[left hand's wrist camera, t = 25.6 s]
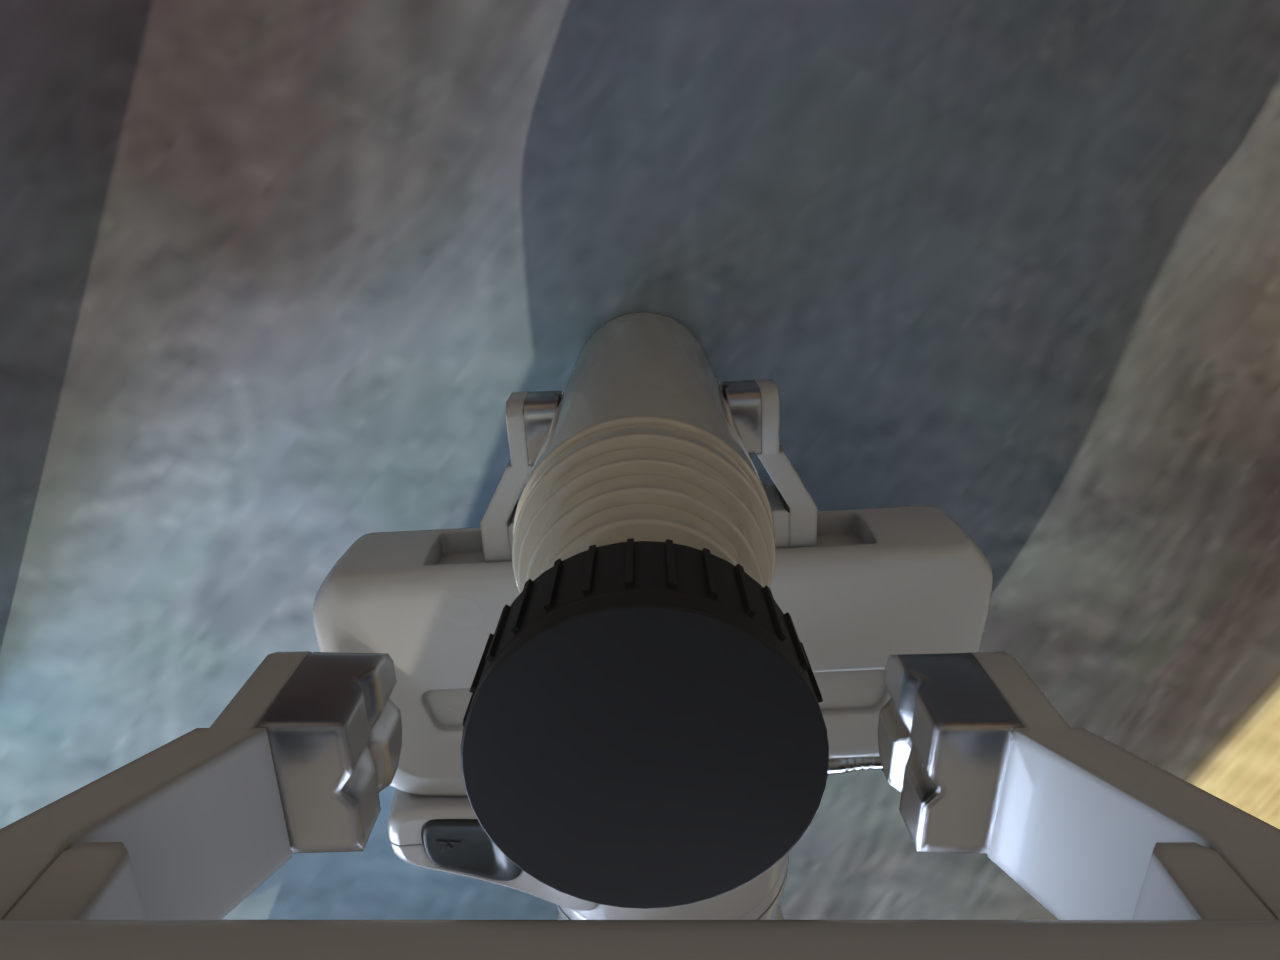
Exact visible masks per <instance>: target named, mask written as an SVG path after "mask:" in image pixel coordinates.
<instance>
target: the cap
mask: <svg viewBox="0 0 1280 960" xmlns="http://www.w3.org/2000/svg"><path fill="white" fill-rule="evenodd" d="M469 692H471V693H472V696H471V699H470V702H469V704H468V707H467V710H466V713H465V716H464V719H463V726H464V727H463V734H462V741H461V771H462V776H463V782H464V787H465V790H466V793H467V796H468V799H469V802H470V805H471V808H472V810H473V812H474V814H475V816H476V817H477V819H478V821H479V823H480V825H481V827H482V828H483V829H484V831H485V832H486V834H487V835H488V836H489V838H490V839H491V841H492V842H493V843H494V844H495V845H496V846H497V847H498V848H499V850H500V851H501V852H502V853H503V854H504V855H505V856H506V857H507V858H508V859H509V860H511V861H512V862H513V863H514V864H515V865H517V866H518V867H519V868H520V869H521V870H523V871H524V872H526V873H527V874H529V875H530V876H532V877H533V878H535V879H537V880H538V881H540V882H541V883H543V884H545V885H547V886H549V887H551V888H553V889H555V890H557V891H559V892H562V893H565V894H568V895H570V896H573V897H576V898H578V899H582V900H586V901H589V902H593V903H597V904H601V905H608V906H615V907H621V908H638V909H652V908H669V907H675V906H682V905H688V904H693V903H696V902H700V901H704V900H708V899H712V898H714V897H717V896H719V895H722V894H725V893H727V892H730V891H732V890H734V889H736V888H738V887H740V886H742V885H744V884H746V883H748V882H750V881H752V880H753V879H755V878H756V877H758V876H759V875H761V874H762V873H764V872H765V871H767V870H768V869H770V868H771V867H772V866H773V865H774V864H775V863H777V862H778V861H779V860H780V859H781V858H783V857H784V856H785V855H786V854H787V853H788V851H789V850H790V849H791V848H792V847H793V846H794V845H795V844H796V843H797V842H798V840H799V839H800V838H801V836H802V835H803V833H804V832H805V830H806V829H807V828H808V826H809V825H810V823H811V821H812V819H813V817H814V815H815V813H816V811H817V809H818V807H819V804H820V801H821V798H822V795H823V792H824V789H825V786H826V780H827V774H828V768H829V743H828V737H827V728H826V725H825V722H824V719H823V715H822V712H821V709H820V706H819V703H820V702H823V699H822V695H821V693H820V690H819V687H818V684H817V682H816V679H815V676H814V674H813V671H812V668H811V665H810V663H809V660H808V657H807V655H806V652H805V649H804V646H803V644H802V642H800V640H799V637H798V635H797V632H796V629H795V626H794V624H793V621H792V618H791V616H790V614H789V613H788V612H787V613H785V614H784V613H783V612H782V610H781V609H780V607H779V606H778V604H777V603H776V602H775V600H774V598H773V595H772V592H771V589H770V588H769V587H768V586H767V585H766V586H765V587H764V588H763V587H762V586H761V585H760V584H759V583H758V582H757V581H755V580H754V579H753V578H752V577H750V576H749V575H748V574H747V573H745V572H744V568H743V566H741V565H740V564H737V565H736V566H734V565H733V564H731V563H730V562H728V561H726V560H724V559H722V558H719V557H717V556H715V555H713V554H711V553H710V550H709V549H706V548H703V550H699V549H696V548H692V547H689V546H685V545H680V544H674V543H673V540H668V539H666V542H657V541H634V538H630V539H627V542H620V543H615V544H609V545H604V546H599V547H596V545H592V546H589V550H587V551H584V552H581V553H578V554H576V555H574V556H572V557H570V558H567V559H565V560H563V561H562V560H561V559H560V558H559V559H558V560H556V561H555V562H554V566H553V567H551V568H550V569H548V570H547V571H545V572H543V573H542V574H541V575H540V576H538V577H537V578H536V579H535V580H534V581H532V580H531V579H529V580H527V581H526V582H525V585H524V588H523V591H522V592H521V593H520V594H519V595H518V597H517V598H516V599H515V600H514V601H513V603H512V604H511V606H509V605H507V604H506V605H505V606H504V608H503V610H502V613H501V616H500V618H499V621H498V624H497V627H496V630H495V633H494V634H491V633H490V635H489V638H488V640H487V643H486V646H485V649H484V652H483V654H482V657H481V660H480V663H479V666H478V668H477V671H476V674H475V677H474V680H473V682H472V685H471V688H470V691H469Z"/></svg>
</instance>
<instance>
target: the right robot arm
mask: <svg viewBox="0 0 1280 960" xmlns="http://www.w3.org/2000/svg"><path fill="white" fill-rule="evenodd" d="M721 390H722V393H723V395H724V397H725V400H726V402H727V404H728V407H729V409H730V411H731V413H732V416H733V418H734V420H735V423H736V425H737V427H738V430H739V432H740V434H741V437H742V439H743V441H744V443H745V446H746V448H747V450H748V453H749V454H750V453H756V455H757V457H758V458H759V460H760V461H761V463H762V465H763V466H764V468H765V469H766V471H767V473H768V474H769V476H770V477H771V479H772V481H773V482H774V484H775V485H774V484H773V485H763V487H764V490H765V492H766V495H767V497H768V500H769V503H770V506H771V510H772V515H773V520H774V531H775V549H776V559H775V571H774V575H773V580H772V584H771V587H770V589H771V592H772V595H773V598H774V600H775V602H776V603H777V604H778V606H779V607H780V609H781V610H782V612H783V613H784V614H785V613H787V612H788V613H789V614H790V616H791V618H792V621H793V624H794V626H795V629H796V632H797V635H798V637H799V640H800V642H802V644H803V646H804V649H805V652H806V655H807V657H808V660H809V663H810V665H811V668H812V671H813V674H814V676H815V679H816V682H817V684H818V687H819V690H820V693H821V695H822V699H823V702H820V703H819V706H820V709H821V712H822V715H823V719H824V722H825V725H826V728H827V737H828V743H829V768H828V774H840V773H845V772H852V771H853V770H854V771H859V770H861V769H862V770H868V769H870V770H873V769H882V771H883V768H882V764H881V759H880V755H879V747H878V732H877V731H878V721H879V711H880V709H881V708H882V707H883V706H884V705H885V704H886V703H887V702H888V701H889V700H890V699H891V697H890V695H889V693H888V690H887V688H886V686H885V684H884V682H883V680H884V673H885V666H886V663H887V660H888V658H889V655H897V654H942V653H967V652H979V649H980V645H981V641H982V638H983V633H984V629H985V625H986V620H987V615H988V610H989V605H990V600H991V594H992V586H993V574H992V570H991V566H990V564H989V562H988V560H987V558H986V557H985V555H984V554H983V552H982V551H981V549H980V548H979V547H978V546H977V544H976V543H975V542H974V541H973V539H972V538H971V537H970V536H969V535H968V534H967V533H966V532H965V531H964V530H963V529H962V528H961V527H960V526H959V525H958V524H957V523H956V522H955V521H953V520H952V519H951V518H950V517H949V516H948V515H947V514H946V513H944V512H943V511H942V510H940V509H939V508H936V507H933V506H906V507H886V508H866V509H845V510H825V511H817V506H816V505H815V503H814V501H813V499H812V497H811V495H810V493H809V492H808V490H807V488H806V486H805V484H804V482H803V481H802V479H801V477H800V476H799V474H798V473H797V471H796V469H795V468H794V466H793V464H792V463H791V461H790V460H789V458H788V456H787V455H786V453H785V451H784V450H783V448H782V446H781V445H780V443H779V415H780V402H779V394H778V389H777V386H776V385H775V383H774V382H773V381H772V379H762V380H744V381H729V382H722V385H721ZM562 396H563V395H562V391H540V392H528V391H527V392H517V393H512V394H511V396H510V397H509V399H508V401H507V404H506V424H507V432H508V441H509V449H510V458H511V459H510V461H509V463H508V466H507V468H506V470H505V472H504V474H503V476H502V478H501V481H500V483H499V485H498V487H497V489H496V491H495V493H494V495H493V498H492V500H491V502H490V504H489V506H488V508H487V510H486V512H485V515H484V517H483V519H482V521H481V523H480V528H460V529H439V530H419V531H398V532H377V533H369V534H365V535H363V536H362V537H360V538H359V539H357V540H356V541H355V542H354V543H353V545H352V546H351V547H350V548H349V549H348V550H347V551H346V552H345V553H344V554H343V556H342V557H341V558H340V559H339V560H338V561H337V562H336V564H335V565H334V566H333V568H332V569H331V571H330V572H329V573H328V575H327V576H326V578H325V579H324V581H323V583H322V584H321V586H320V588H319V590H318V592H317V594H316V597H315V601H314V605H313V619H314V626H315V632H316V636H317V641H318V645H319V649H320V652H342V653H388V654H389V656H390V657H391V658H392V659H393V662H394V668H395V674H396V680H397V682H396V684H395V686H394V688H393V691H392V693H391V695H390V697H389V699H390V700H391V701H392V702H393V703H394V704H395V705H396V706H397V707H398V708H399V709H400V711H401V719H402V747H401V753H400V758H399V764H398V768H397V770H396V773H395V776H394V778H393V781H392V783H391V784H390V785H388V786H390V787H392V788H395V789H396V791H395V794H394V799H393V803H392V807H391V812H390V816H389V821H388V834H389V840H390V844H391V847H392V849H393V851H394V853H395V854H396V855H397V856H398V857H399V858H400V859H402V860H403V861H405V862H407V863H409V864H412V865H415V866H418V867H423V868H427V869H432V870H437V871H442V872H447V873H452V874H457V875H461V876H466V877H471V878H475V879H479V880H483V881H487V882H491V883H495V884H498V885H502V886H505V887H509V888H512V889H515V890H518V891H521V892H524V893H527V894H530V895H533V896H536V897H538V898H541V899H543V900H546V901H548V902H551V903H553V904H556V906H557V908H558V910H559V914H558V919H557V920H784V918H783V914H782V911H781V908H780V905H779V901H780V899H781V896H782V893H783V890H784V887H785V883H786V879H787V871H788V864H789V851H788V853H787V854H786V855H785V856H784V857H783V858H781V859H780V860H779V861H778V862H777V863H775V864H774V865H773V866H772V867H771V868H770V869H768V870H767V871H765V872H764V873H762V874H761V875H759V876H758V877H756V878H755V879H753V880H752V881H750V882H748V883H746V884H744V885H742V886H740V887H738V888H736V889H734V890H732V891H730V892H727V893H725V894H722V895H719V896H717V897H714V898H712V899H708V900H704V901H700V902H696V903H693V904H688V905H682V906H675V907H669V908H652V909H638V908H621V907H615V906H608V905H601V904H597V903H593V902H589V901H586V900H582V899H578V898H576V897H573V896H570V895H568V894H565V893H562V892H559V891H557V890H555V889H553V888H551V887H549V886H547V885H545V884H543V883H541V882H540V881H538V880H537V879H535V878H533V877H532V876H530V875H529V874H527V873H526V872H524V871H523V870H521V869H520V868H519V867H518V866H517V865H515V864H514V863H513V862H512V861H511V860H509V859H508V858H507V857H506V856H505V855H504V854H503V853H502V852H501V851H500V850H499V848H498V847H497V846H496V845H495V844H494V843H493V842H492V841H491V839H490V838H489V836H488V835H487V834H486V832H485V831H484V829H483V828H482V827H481V825H480V823H479V821H478V819H477V817H476V816H475V814H474V812H473V810H472V808H471V805H470V802H469V799H468V796H467V793H466V790H465V787H464V782H463V776H462V771H461V741H462V734H463V727H464V726H463V719H464V716H465V713H466V710H467V707H468V704H469V702H470V699H471V696H472V693H471V692H469V691H470V688H471V685H472V682H473V680H474V677H475V674H476V671H477V668H478V666H479V663H480V660H481V657H482V654H483V652H484V649H485V646H486V643H487V640H488V638H489V635H490V633H491V634H494V633H495V630H496V627H497V624H498V621H499V618H500V616H501V613H502V610H503V608H504V606H505V605H506V604H507V605H509V606H511V604H512V603H513V601H514V600H515V599H516V598H517V597H518V595H519V591H518V588H517V585H516V582H515V577H514V572H513V566H512V544H513V525H514V517H515V513H516V508H517V504H518V501H519V500H518V498H519V496H520V494H521V492H522V490H523V487H524V485H525V483H526V481H527V479H528V477H529V475H530V472H531V470H532V467H533V465H534V463H535V460H536V458H537V456H538V453H539V451H540V448H541V446H542V444H543V441H544V439H545V437H546V434H547V432H548V430H549V427H550V425H551V422H552V420H553V418H554V415H555V413H556V411H557V408H558V406H559V403H560V401H561V399H562Z"/></svg>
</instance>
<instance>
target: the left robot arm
mask: <svg viewBox="0 0 1280 960" xmlns="http://www.w3.org/2000/svg"><path fill="white" fill-rule="evenodd" d="M396 682H397V680H396V674H395V668H394V662H393V659H392V658H391V657H390V656H389V654H388V653H342V652H313V653H312V652H275V653H272V654H269V655H268V656H267V657H266V658H265V659H264V660H263V661H262V663H261V664H260V665H259V666H258V668H257V669H256V670H255V671H254V673H253V674H252V675H251V676H250V678H249V679H248V680H247V682H246V683H245V684H244V685H243V687H242V688H241V689H240V690H239V692H238V693H237V694H236V695H235V697H234V698H233V699H232V700H231V702H230V703H229V704H228V705H227V707H226V708H225V709H224V710H223V712H222V713H221V714H220V715H219V717H218V718H217V719H216V720H215V722H214V723H213V724H212V725H211V727H210V728H196V729H194V730H193V731H191V732H189V733H187V734H185V735H183V736H181V737H179V738H177V739H175V740H173V741H171V742H169V743H167V744H165V745H163V746H161V747H159V748H158V749H156V750H154V751H152V752H150V753H148V754H146V755H144V756H142V757H140V758H138V759H136V760H134V761H132V762H130V763H128V764H126V765H125V766H123V767H121V768H119V769H117V770H115V771H113V772H111V773H109V774H107V775H105V776H103V777H101V778H99V779H97V780H95V781H93V782H91V783H90V784H88V785H86V786H84V787H82V788H80V789H78V790H76V791H74V792H72V793H70V794H68V795H66V796H64V797H62V798H60V799H58V800H57V801H55V802H53V803H51V804H49V805H47V806H45V807H43V808H41V809H39V810H37V811H35V812H33V813H31V814H29V815H27V816H25V817H24V818H22V819H20V820H18V821H16V822H14V823H12V824H10V825H8V826H6V827H4V828H2V829H0V960H1280V830H1279V829H1277V828H1275V827H1273V826H1271V825H1270V824H1268V823H1266V822H1264V821H1262V820H1260V819H1258V818H1256V817H1254V816H1252V815H1250V814H1248V813H1246V812H1244V811H1242V810H1240V809H1239V808H1237V807H1235V806H1233V805H1231V804H1229V803H1227V802H1225V801H1223V800H1221V799H1219V798H1217V797H1215V796H1213V795H1211V794H1210V793H1208V792H1206V791H1204V790H1202V789H1200V788H1198V787H1196V786H1194V785H1192V784H1190V783H1188V782H1186V781H1184V780H1182V779H1180V778H1179V777H1177V776H1175V775H1173V774H1171V773H1169V772H1167V771H1165V770H1163V769H1161V768H1159V767H1157V766H1155V765H1153V764H1151V763H1149V762H1148V761H1146V760H1144V759H1142V758H1140V757H1138V756H1136V755H1134V754H1132V753H1130V752H1128V751H1126V750H1124V749H1122V748H1120V747H1118V746H1117V745H1115V744H1113V743H1111V742H1109V741H1107V740H1105V739H1103V738H1101V737H1099V736H1097V735H1095V734H1093V733H1091V732H1089V731H1087V730H1086V729H1084V728H1070V727H1069V725H1068V724H1067V723H1066V722H1065V720H1064V719H1063V718H1062V717H1061V715H1060V714H1059V713H1058V712H1057V710H1056V709H1055V708H1054V707H1053V705H1052V704H1051V703H1050V702H1049V700H1048V699H1047V698H1046V697H1045V695H1044V694H1043V693H1042V692H1041V690H1040V689H1039V688H1038V687H1037V685H1036V684H1035V683H1034V682H1033V680H1032V679H1031V678H1030V677H1029V675H1028V674H1027V673H1026V672H1025V670H1024V669H1023V668H1022V667H1021V666H1020V664H1019V663H1018V662H1017V661H1016V659H1015V658H1014V657H1013V656H1012V655H1011V654H1009V653H1007V652H1005V651H995V652H967V653H942V654H897V655H889V658H888V660H887V663H886V666H885V673H884V680H883V682H884V684H885V686H886V688H887V690H888V693H889V695H890V697H891V699H890V700H889V701H888V702H887V703H886V704H885V705H884V706H883V707H882V708H881V709H880V711H879V721H878V731H877V732H878V747H879V755H880V759H881V764H882V768H883V771H884V773H885V776H886V778H887V781H888V783H889V784H890V785H892V786H893V787H894V788H896V789H897V790H898V791H900V792H901V793H902V794H901V801H900V808H899V810H900V812H901V815H902V817H903V819H904V822H905V824H906V826H907V829H908V831H909V833H910V836H911V838H912V840H913V843H914V845H915V848H916V850H917V851H930V852H965V853H988V857H989V858H990V859H991V860H992V861H993V862H994V863H996V864H997V865H998V866H999V867H1000V868H1001V869H1002V870H1003V871H1005V872H1006V873H1007V874H1008V875H1009V876H1010V877H1011V878H1013V879H1014V880H1015V881H1016V882H1017V883H1018V884H1019V885H1020V886H1022V887H1023V888H1024V889H1025V890H1026V891H1027V892H1028V893H1029V894H1031V895H1032V896H1033V897H1034V898H1035V899H1036V900H1037V901H1039V902H1040V903H1041V904H1042V905H1043V906H1044V907H1045V908H1046V909H1048V910H1049V911H1050V912H1051V913H1052V914H1053V915H1054V916H1055V917H1057V918H1058V919H1059V920H221V919H223V918H224V917H225V916H226V915H227V914H228V913H229V912H230V911H232V910H233V909H234V908H235V907H236V906H237V905H238V904H240V903H241V902H242V901H243V900H244V899H245V898H246V897H247V896H249V895H250V894H251V893H252V892H253V891H254V890H255V889H257V888H258V887H259V886H260V885H261V884H262V883H263V882H264V881H266V880H267V879H268V878H269V877H270V876H271V875H272V874H274V873H275V872H276V871H277V870H278V869H279V868H280V867H281V866H283V865H284V864H285V863H286V862H287V861H288V860H289V859H291V858H292V853H314V852H349V851H363V850H364V848H365V845H366V843H367V841H368V838H369V836H370V834H371V831H372V829H373V826H374V824H375V822H376V819H377V817H378V815H379V812H380V810H381V808H380V801H379V794H378V793H379V792H380V791H382V790H383V789H384V788H386V787H387V786H388V785H390V784H391V783H392V781H393V778H394V776H395V773H396V770H397V768H398V764H399V758H400V753H401V747H402V719H401V711H400V709H399V708H398V707H397V706H396V705H395V704H394V703H393V702H392V701H391V700H390V699H389V697H390V695H391V693H392V691H393V688H394V686H395V684H396Z"/></svg>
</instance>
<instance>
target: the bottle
mask: <svg viewBox="0 0 1280 960" xmlns="http://www.w3.org/2000/svg"><path fill="white" fill-rule="evenodd" d="M630 538H634V541H657V542H666V539H668V540H673V543H674V544H680V545H685V546H689V547H692V548H696V549H699V550H703V548H706V549H709V550H710V553H711V554H713V555H715V556H717V557H719V558H722V559H724V560H726V561H728V562H730V563H731V564H733V565H734V566H736V565H737V564H740V565H741V566H743V568H744V572H745V573H747V574H748V575H749V576H750V577H752V578H753V579H754V580H755V581H757V582H758V583H759V584H760V585H761V586H762V587H763V588H764V587H765V586H766V585H767V586H768V587H769V588H770V587H771V584H772V580H773V575H774V571H775V559H776V549H775V531H774V520H773V515H772V510H771V506H770V503H769V500H768V497H767V495H766V492H765V490H764V487H763V485H762V483H761V480H760V478H759V476H758V473H757V471H756V469H755V466H754V464H753V462H752V460H751V457H750V455H749V453H748V450H747V448H746V446H745V443H744V441H743V439H742V437H741V434H740V432H739V430H738V427H737V425H736V423H735V420H734V418H733V416H732V413H731V411H730V409H729V407H728V404H727V402H726V400H725V397H724V395H723V393H722V390H721V388H720V386H719V384H718V381H717V379H716V377H715V374H714V372H713V370H712V367H711V365H710V363H709V361H708V358H707V356H706V354H705V351H704V349H703V348H702V346H701V344H700V342H699V341H698V340H697V338H696V337H695V336H694V335H693V334H692V333H691V332H690V331H689V330H688V329H687V328H686V327H685V326H683V325H682V324H680V323H679V322H677V321H676V320H674V319H671V318H669V317H667V316H664V315H660V314H656V313H649V312H638V313H630V314H626V315H622V316H619V317H617V318H615V319H612V320H611V321H609V322H607V323H605V324H604V325H603V326H601V327H600V328H599V329H598V330H597V331H596V332H595V333H594V334H593V335H592V336H591V337H590V338H589V340H588V341H587V342H586V344H585V346H584V348H583V349H582V351H581V354H580V356H579V358H578V361H577V363H576V366H575V368H574V370H573V373H572V375H571V377H570V380H569V382H568V385H567V387H566V389H565V392H564V394H563V396H562V399H561V401H560V403H559V406H558V408H557V411H556V413H555V415H554V418H553V420H552V422H551V425H550V427H549V430H548V432H547V434H546V437H545V439H544V441H543V444H542V446H541V448H540V451H539V453H538V456H537V458H536V460H535V463H534V465H533V467H532V470H531V472H530V475H529V477H528V479H527V482H526V484H525V486H524V489H523V491H522V494H521V496H520V499H519V501H518V504H517V508H516V513H515V517H514V525H513V544H512V566H513V572H514V577H515V582H516V585H517V588H518V591H519V594H520V593H521V592H522V591H523V588H524V585H525V582H526V581H527V580H529V579H531V580H532V581H534V580H535V579H536V578H537V577H538V576H540V575H541V574H542V573H543V572H545V571H547V570H548V569H550V568H551V567H553V566H554V562H555V561H556V560H558V559H559V558H560V559H561V560H562V561H563V560H565V559H567V558H570V557H572V556H574V555H576V554H578V553H581V552H584V551H587V550H589V546H592V545H596V547H599V546H604V545H609V544H615V543H620V542H627V539H630Z"/></svg>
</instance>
